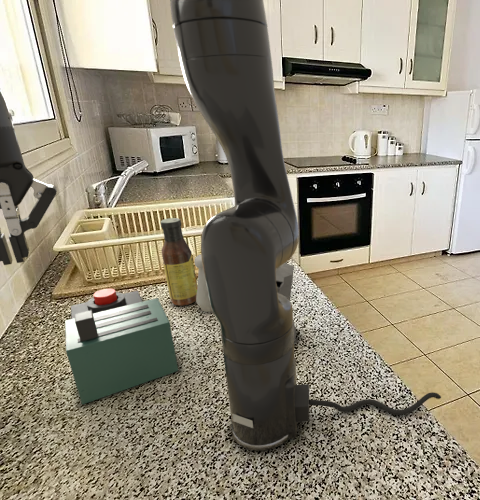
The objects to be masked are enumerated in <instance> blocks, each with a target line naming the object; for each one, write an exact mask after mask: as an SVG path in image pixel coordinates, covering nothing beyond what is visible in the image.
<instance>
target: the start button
mask: <svg viewBox="0 0 480 500" xmlns="http://www.w3.org/2000/svg"><path fill="white" fill-rule="evenodd" d="M116 292H117V291H116V289H114V288H103V289H99V290H97V291H95V292H94V293H93V297H94V300H95V304H96V305H106V304H110V303H112V302H114V301H116V300H117V296H116Z"/></svg>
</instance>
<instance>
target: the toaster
mask: <svg viewBox="0 0 480 500" xmlns="http://www.w3.org/2000/svg"><path fill="white" fill-rule="evenodd" d="M93 316H94V320H95V324H96V328H97V333H98V337H96V338H93V339H89V340H86V341H82V342H81V341H80V337H79V334H78V330H77V327H76V323H75V318H73V319H71V318H70V319H65V320H64V331H65V332H64V333H65V334H64V335H65V336H64V337H65V353H66V356H67V360H68V363H69V366H70V370H71V373H72V376H73V379H74V382H75V386H76V389H77V392H78V395H79V398H80V402H81V405H86V404H89V403H91V402H94V401H96V400H101V399H102V398H105V397H108V396H111V395H114V394H118V393H119V392H123V391H125V390H128V389H130V388H134V387H137V386H140V385H142V384H144V383H148V382H152V381H154V380H156V379H159V378H162V377H165V376H167V375H171V374H173V373H176V372H178V371H179V366H178V361H177V356H176V351H175V350H176V349H175V344H174V339H173V338H174V337H173V334H172V328H171V323H170V320H169V318H168V316H167V314H166V312H165V309H164V307H163V306H162V303H161V302H160V299H159V298H158V297H156V298H152V299H147V300H142V302H139V303H135V304H131V305H127V306H122V307H118V308H114V309H110V310H106V311H102V312H98V313H94V314H93Z"/></svg>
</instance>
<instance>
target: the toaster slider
mask: <svg viewBox="0 0 480 500" xmlns="http://www.w3.org/2000/svg"><path fill="white" fill-rule="evenodd" d="M75 323H76V327H77V330H78V334H79V337H80V341H81V342H82V341H86V340H89V339H93V338H96V337H98V333H97V328H96V324H95V320H94V316H93V313H92V310H91V311H86V312H82V313H78V314H75Z"/></svg>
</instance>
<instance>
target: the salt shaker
mask: <svg viewBox="0 0 480 500" xmlns="http://www.w3.org/2000/svg"><path fill="white" fill-rule="evenodd" d="M194 267H196V268H197V269H198V272H197V297H196V301H195V303H196V304H197V305H198V306H199V308H200V309H201V311H202V312H205V313H214V312H213V310H212V308H211V305H210V300H209V295H208V290H207V285H206V279H205V274H204V269H203V263H202V257H201V253H200V254H198V255H196V256H195V258H194Z"/></svg>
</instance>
